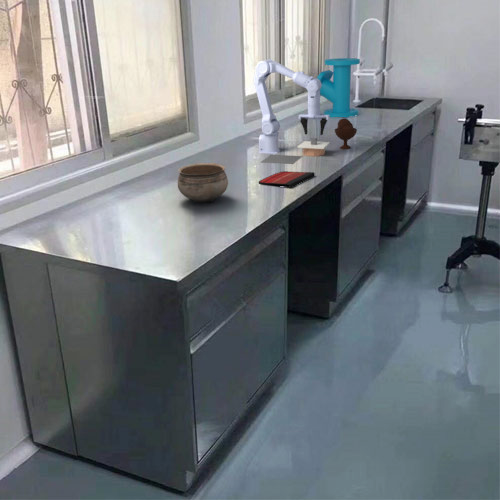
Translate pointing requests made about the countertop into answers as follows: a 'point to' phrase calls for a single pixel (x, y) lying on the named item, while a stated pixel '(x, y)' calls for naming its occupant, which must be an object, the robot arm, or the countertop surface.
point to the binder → (286, 178)
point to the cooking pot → (202, 181)
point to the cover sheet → (313, 144)
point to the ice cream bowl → (345, 132)
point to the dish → (313, 152)
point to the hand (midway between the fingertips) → (313, 134)
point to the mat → (281, 159)
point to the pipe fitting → (338, 86)
